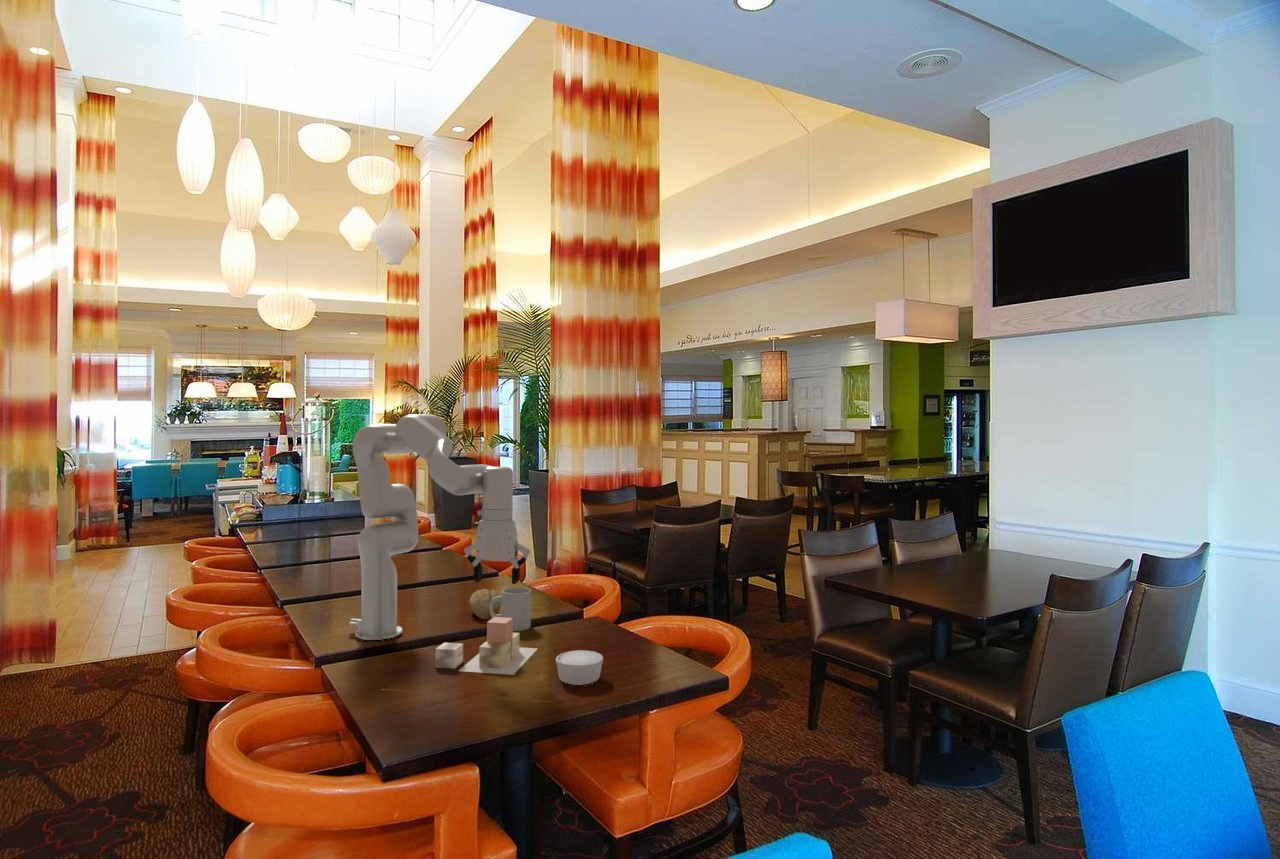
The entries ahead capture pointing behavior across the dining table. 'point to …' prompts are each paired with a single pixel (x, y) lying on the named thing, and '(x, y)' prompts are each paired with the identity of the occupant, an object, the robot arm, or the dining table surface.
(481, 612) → the bread roll
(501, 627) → the terracotta cube
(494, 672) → the felt mat
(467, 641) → the dining table surface
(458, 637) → the dining table surface
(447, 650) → the birch cube
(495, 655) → the maple block
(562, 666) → the ramekin
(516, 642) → the maple block
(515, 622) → the mug
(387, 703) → the dining table surface
